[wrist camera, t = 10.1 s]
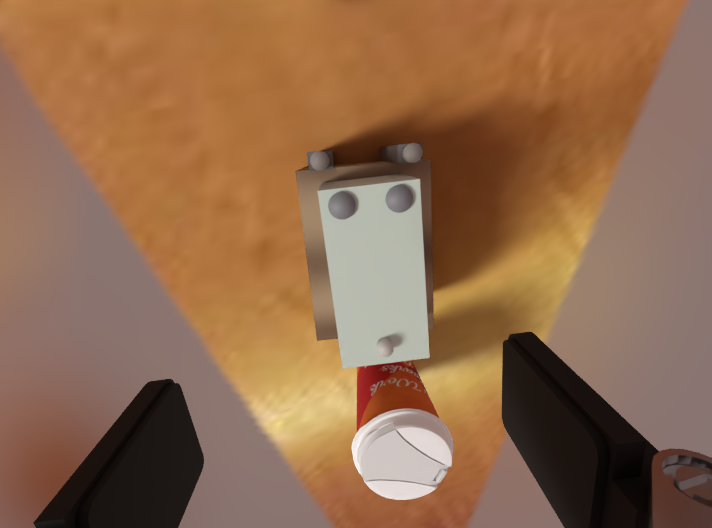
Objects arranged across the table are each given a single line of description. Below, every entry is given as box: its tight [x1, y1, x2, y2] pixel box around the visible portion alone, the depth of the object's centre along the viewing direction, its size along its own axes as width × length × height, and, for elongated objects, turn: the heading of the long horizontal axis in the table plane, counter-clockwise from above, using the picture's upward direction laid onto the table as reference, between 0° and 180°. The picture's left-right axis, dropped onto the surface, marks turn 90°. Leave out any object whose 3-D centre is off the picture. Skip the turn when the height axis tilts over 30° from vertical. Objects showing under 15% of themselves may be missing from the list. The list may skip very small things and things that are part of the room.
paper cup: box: [351, 360, 453, 500], centre depth 32 cm, size 8×8×14 cm
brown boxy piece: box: [296, 143, 434, 341], centre depth 30 cm, size 15×10×10 cm, turn 5°
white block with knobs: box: [318, 174, 430, 369], centre depth 25 cm, size 12×6×7 cm, turn 6°
